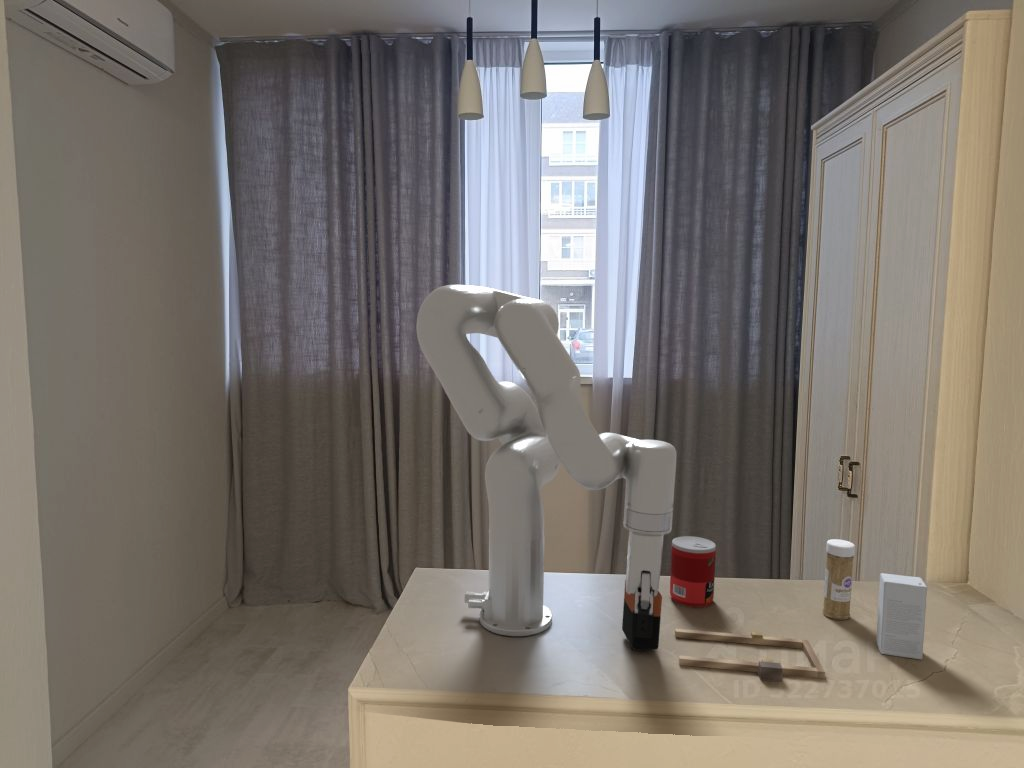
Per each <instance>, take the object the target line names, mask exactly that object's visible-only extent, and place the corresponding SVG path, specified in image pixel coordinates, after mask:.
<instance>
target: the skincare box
mask: <svg viewBox="0 0 1024 768" xmlns="http://www.w3.org/2000/svg"><path fill="white" fill-rule="evenodd" d="M878 590H879V591H878V606H877V625H876V645H877V648H878V651H879V653H880V654H881V655H888V656H895V657H901V658H910V659H915V660H923V656H924V655H923V653H924V643H925V642H924V637H925V629H926V628H925V624H926V609H927V596H928V595H927V594H928V586H927V585H926V583H925V582H924V580H923V579H922V578H921V576H908V575H900V574H894V573H893V574H892V573H883V572H881V573H880V574H879V588H878Z"/></svg>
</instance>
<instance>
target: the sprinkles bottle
mask: <svg viewBox="0 0 1024 768" xmlns="http://www.w3.org/2000/svg"><path fill="white" fill-rule="evenodd" d="M825 546H826V547H825V552H826V561H825V569H824V570H825V571H824V586H823V608H822V614H823V615H824V616H826V617H828V618H830V619H832V618H833V620H839V621H842V620H843V621H844V620H848V619H849V618H850V617H851V613H850V611H851V610H850V609H851V600H852V591H853V590H852V589H853V568H854V567H853V566H854V557H855V556H856V555H855V552H856V544H854V543H853V542H851V541H848V540H845V539H839V538H837V539H836V538H833V539H828V540H827V541H826V545H825Z"/></svg>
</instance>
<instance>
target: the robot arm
mask: <svg viewBox="0 0 1024 768" xmlns="http://www.w3.org/2000/svg"><path fill="white" fill-rule="evenodd" d="M416 317H417V319H416V328H415V329H416V337H417V341H418V345H419V347H420V349H421V351H422V354H423V356H424V358H425V359H426V361H427V364H428V365H429V366H430V367H431V369H432V371H433V372H434V373H435V375H436V377H437V379H438V380H439V383H440V385H441V387H442V388H443V390H444V393H445V394H446V395H447V398H448V399H449V401H450V403H451V405H452V406H453V408H454V410H455V413H457V415H458V418H459V420H460V421H461V423H462V424H463V426H464V428H465V430H466V432H468V434H469V435H470V436H471V437H472V438H474V439H475V440H478V441H480V442H489V441H494V440H497V439H498V440H499V442H500V444H501V445H500V446H499V447H498V448H496V449H495V450H494V451H493V452H492V453H491V455H490V456H489V458H488V460H487V461H486V466H485V469H484V482H485V488H486V496H487V501H488V502H487V503H488V591H483V592H482V593H480V592H474V591H465V593H464V603H467V604H468V605H467V607H468V608H469V609H481V610H480V611H479V622H480V625H481V626H482V627H483V628H485V629H486V630H488V631H490V632H491V633H494V634H497V635H502V636H506V637H507V636H508V637H527V636H532V635H537V634H540V633H541V632H544V631H545V630H547V629H548V628H550V626H551V625H552V622H553V613H552V611H551V610H550V609H549V607H547V606H546V605H544V584H545V582H544V577H545V509H544V504H543V502H544V501H543V497H542V488H543V486H545V485H547V484H548V483H550V481H552V480H553V479H554V478H555V477H556V476H557V474H558V473H559V471H560V469H561V465H562V466H563V467H564V469H565V471H566V472H567V473H568V475H569V476H570V477H571V478H572V479H573V480H574V481H575V483H577V484H578V485H579V486H581V487H583V488H585V489H586V490H590V491H599V490H603V489H605V488H608V487H609V486H610V485H612V484H614V482H615V481H616V480H619V479H625V491H624V492H625V493H624V494H625V495H624V507H623V508H624V510H623V526H622V527H624V529H625V530H627V531H629V532H628V541H627V553H626V554H627V555H626V556H627V557H626V572H625V573H626V574H625V580H626V592H627V593H628V594H630V593H633V594H634V593H635V610H634V611H633V614H632V630H631V635H632V636H633V637H642V638H652V634H653V619H654V613H653V596H654V597H655V596H657V595H658V591H659V588H660V582H661V581H660V579H661V571H662V563H663V562H662V560H663V548H664V536H665V535H667V534H670V533H671V532H672V529H673V528H672V527H673V515H674V513H673V512H674V499H675V486H676V485H675V483H676V471H677V450H676V448H675V446H674V445H672V444H671V443H669V442H667V441H663V440H659V439H658V440H657V439H638V438H635V437H631V436H626V435H623V434H619V433H615V432H601V433H598V432H597V430H596V429H595V426H594V425H593V424H592V422H591V420H590V418H589V417H588V414H587V412H586V410H585V407H584V404H583V400H582V395H581V381H582V380H581V373H580V369H579V367H578V366H577V365H576V362H575V361H574V360H573V358H572V357H571V355H570V354H569V352H568V351H567V349H566V348H565V346H564V344H563V343H562V342H561V340H560V337H558V335H557V334H558V332H559V326H560V323H559V318H558V315H557V313H556V310H555V309H554V308H553V307H552V305H550V304H549V303H548V302H546V301H544V300H541V299H537V298H531V297H527V296H522V295H518V294H514V293H510V292H507V291H502V290H498V289H495V288H489V287H485V286H479V285H467V284H446V285H442V286H439V287H437V288H436V289H433V291H431V292H430V293H429V294H428V295H427V296H425V299H424V300H423V301H422V303H421V305H420V308H419V310H418V313H417V316H416ZM469 334H471V335H472V334H483V335H485V336H489V337H494V338H497V339H498V341H499V342H500V343H501V347H503V348H504V351H505V352H506V353H507V355H508V357H509V358H510V360H511V361H512V363H513V364H514V367H515V368H516V370H518V372H519V374H520V376H521V378H523V380H524V382H525V383H526V386H527V387H528V388H529V390H530V392H531V393H532V395H533V396H534V397H533V398H534V400H535V402H536V404H535V403H534V400H533V399H532V398H531V396H530V395H529V393H527V391H525V390H524V388H522V387H521V386H519V385H518V384H516V383H514V382H510V381H497V380H496V378H495V376H494V375H493V374H492V372H491V370H490V368H489V366H488V365H487V363H486V361H485V359H484V358H483V356H482V355H481V353H480V352H479V351H478V350H477V349H476V347H475V346H473V344H472V343H471V342H470V340H469V339H468V336H467V335H469ZM641 575H642V576H641ZM638 589H641V592H638ZM650 590H651V593H650ZM639 597H641V601H639V603H638V600H639Z"/></svg>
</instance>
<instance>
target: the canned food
mask: <svg viewBox="0 0 1024 768" xmlns="http://www.w3.org/2000/svg"><path fill="white" fill-rule="evenodd" d="M716 546H717V545H716V543H715V542H714V541H712V540H710V539H708V538H703V537H699V536H690V535H685V536H678V537H674V538H673V539H672V541H671V552H670V554H671V555H670V556H671V557H670V580H669V584H670V585H669V594H670V598H671V600H672V601H674V602H675V603H677V604H679V605H681V606H685V607H690V608H704V607H708V606H710V605H711V604H712V603H713V600H714V595H715V577H716V576H715V575H716V556H717V555H716V554H717V547H716Z"/></svg>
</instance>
